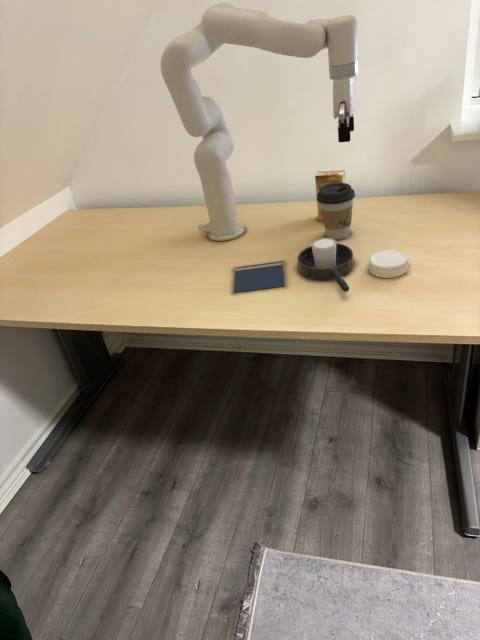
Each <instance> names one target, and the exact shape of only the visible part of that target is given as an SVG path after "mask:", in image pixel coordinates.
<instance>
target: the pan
mask: <svg viewBox="0 0 480 640" xmlns="http://www.w3.org/2000/svg"><path fill="white" fill-rule="evenodd" d="M354 262H355V261H354V251H353V250H352V249H351V248H350V247H349V246H348V245H345V244H342V243H337V242H336V266H335V267H336V268H337V270H338V271H339V273H340V274H341V276H342V277H343V276H345V275H346V274H348V273H349V272H351V270H353V268H354ZM297 266H298V267H297V268H298V272H299V273H300V274H301V275H302V276H304V277H305V278H308V279H310V280H315V281H328V280H335V278H334V277H333V275H332V273H331V272H330V268H316V266H315V261H314V256H313V251H312V246H311V245H310V246H308V247H306V248H304V249H302V251H300V252H299V253H298V255H297ZM335 267H334V268H335ZM331 268H333V267H331Z"/></svg>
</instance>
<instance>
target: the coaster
mask: <svg viewBox="0 0 480 640" xmlns="http://www.w3.org/2000/svg"><path fill="white" fill-rule="evenodd" d="M408 269H409V257H408V255H407V254H406V253H404V252H403V251H401V250H397V249H382V250H379V251H376V252H374V253H372V254H371V255H370V256H369V258H368V270H369V272H370V274H371V275H373V276H375V277H377V278H381V279H393V278H397V277H398V278H399V277H400V276H403V275H404V274H405V273H406V272H407V271H408Z"/></svg>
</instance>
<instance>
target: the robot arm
mask: <svg viewBox="0 0 480 640" xmlns="http://www.w3.org/2000/svg"><path fill="white" fill-rule="evenodd" d="M224 44H228V45H235V46H242V47H249V48H253V49H258V50H261V51H264V52H265V51H266V52H269V53H273V54H276V55H281V56H287V57H294V58H301V59H308V58H313V57H315V56H317V55H318V54H319V53H320V52H321V51H323V50H327V56H328V57H327V58H328V74H329V79H330V80H332V110H333V111H332V113H333V115H332V117H333V119H334V120H337V138H338V139H337V140H338V143H349V142H351V132H354V131H355V117H354V111H355V104H356V103H355V102H356V101H355V98H356V95H355V94H356V92H355V77H357V76H359V52H358V49H359V47H358V20H357V18H356V16H354V15H341V16H336V17H333V18H328V19H327V18H325V19H324V18H323V19H322V18H321V19H320V18H317V19H310V20H308V21H306V22H305V23H301V22H294V21H286V20H282V19H278V18H274V17H272V16H271V15H269V14H268V13H267V12H265V11H262V10H256V9H250V8H249V9H248V8H242V7H241V8H240V7H235V6H234V5H232V4H231V3H229V2H219V3H216V4H213V5H210V6H209V7H208V8H206V9H205V11H204V12H203V14H202V17H201V21H200V22H198V23H197V25H196V26H194V27H193V28H192V29H191V30H190V31H188V32H186V33H183V34H181V35H178V36H176V37H174V38H173V39H172V40H171V41H169V42H168V44H167V45H166V47H165V48H164V50H163V52H162V54H161V58H160V72H161V76H162V79H163V81H164V84H165V86H166V88H167V90H168V92H169V95H170V96H171V97H170V98H171V99H172V102H173V104H174V107H175V109H176V112H177V114H178V116H179V118H180V121H181V123H182V125H183V127H184V130H185V132H187V134H188V135H190V136H191V137H193V138H200V137H201V138H202V140H201V141H200V142H198V145H196V148H195V150H194V153H193V161H194V165H195V169H196V170H197V173H198V176H199V179H200V183H201V188H202V192H203V196H204V201H205V205H206V211H207V215H208V219H209V221H208V222H206V223H200V224H198V225H197V228H198V231H200V232H201V233H205V232H207V237H208V238H209V239H210V240H211V241H218V242H225V241H230V240H235V239H236V238H238V237H240V236H242V235H243V234H244V232H245V231H246V230H245V225H244V224H243V223H241V222H239V221H240V220H239V216H238V211H237V205H236V200H235V199H236V198H235V195H234V188H233V183H232V177H231V175H230V172H229V169H228V167H227V161H228V160H229V158H230V157H231V156H232V153H233V151H234V140H233V137H232V134H231V132H230V128H229V126H228V123H227V121H226V118H225V116H224V114H223V111H222V109H221V107H220V105H219V104H218V102H217V101H216V100H215V99H213V98H211V97H209V96H206V95H205V96H203V95H202V92H201V89H200V87H199V84H198V83H197V81H196V79H195V77H194V76H193V75H192V69H193V68H194V67H196V66H198V65H200V64H202V63H203V62H205V61H206V60H207V59H208V58H210V57H211V56H212V55H213V54H214V53H215V52H217V51H218V49H220V48H221V47H222V46H224ZM337 118H338V119H337Z"/></svg>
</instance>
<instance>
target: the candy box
mask: <svg viewBox="0 0 480 640" xmlns="http://www.w3.org/2000/svg"><path fill="white" fill-rule="evenodd" d="M314 181H315V192H316V193H315V195H316V196H317V194H318V193H319V190H320V188H321V187H323V186H325V185H327V184H331V183H346V171H345V170H329V171H328V170H327V171H317V172H316V173H315V175H314ZM316 203H317V204H316V207H317V218H318V219H317V220H318V221H323V219H322V214H321V209H320V205H319V202H318V201H317V200H316Z"/></svg>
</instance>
